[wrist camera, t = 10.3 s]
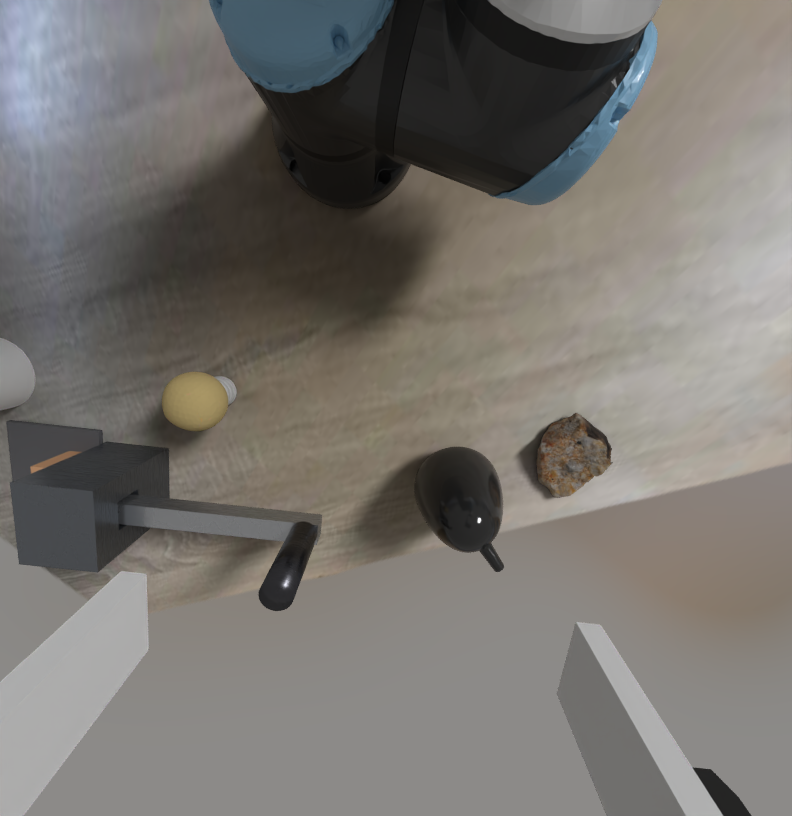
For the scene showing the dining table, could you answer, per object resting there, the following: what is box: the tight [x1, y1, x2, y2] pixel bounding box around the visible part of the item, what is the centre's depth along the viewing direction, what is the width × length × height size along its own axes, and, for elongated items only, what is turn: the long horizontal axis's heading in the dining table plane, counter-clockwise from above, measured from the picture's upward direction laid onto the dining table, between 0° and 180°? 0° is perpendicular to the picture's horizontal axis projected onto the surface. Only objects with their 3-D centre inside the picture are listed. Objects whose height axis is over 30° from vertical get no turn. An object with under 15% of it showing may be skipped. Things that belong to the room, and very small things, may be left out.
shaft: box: [118, 494, 322, 611], centre depth 40 cm, size 3×29×12 cm, turn 84°
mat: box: [6, 420, 103, 481], centre depth 52 cm, size 12×12×1 cm
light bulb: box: [162, 372, 237, 431], centre depth 45 cm, size 6×6×10 cm
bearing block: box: [10, 442, 169, 572], centre depth 46 cm, size 9×8×13 cm
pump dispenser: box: [414, 447, 504, 572], centre depth 44 cm, size 10×10×15 cm
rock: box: [536, 413, 613, 498], centre depth 49 cm, size 9×6×10 cm
